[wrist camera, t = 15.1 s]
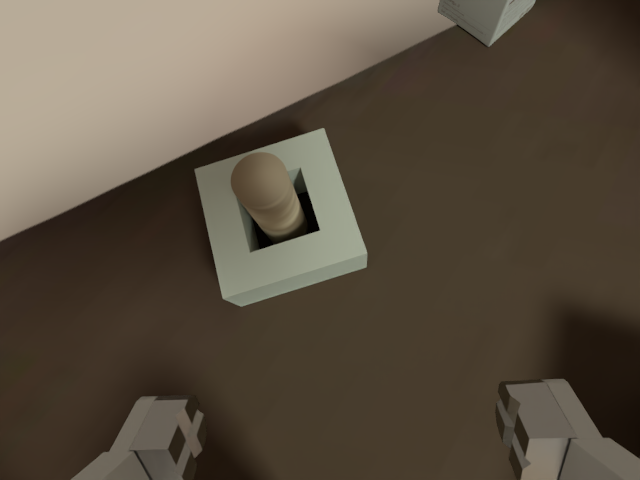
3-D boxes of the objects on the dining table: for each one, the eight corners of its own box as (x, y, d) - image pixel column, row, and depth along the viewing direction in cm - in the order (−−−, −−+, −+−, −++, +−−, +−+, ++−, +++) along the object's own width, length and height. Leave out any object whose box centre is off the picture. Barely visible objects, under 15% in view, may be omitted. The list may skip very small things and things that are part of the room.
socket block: (328, 155, 40) (323, 127, 35) (366, 267, 36) (367, 253, 31) (214, 191, 40) (194, 169, 35) (241, 306, 36) (222, 298, 31)
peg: (301, 203, 38) (279, 145, 28) (313, 240, 37) (293, 194, 27) (262, 215, 39) (225, 162, 28) (272, 253, 37) (237, 212, 27)
